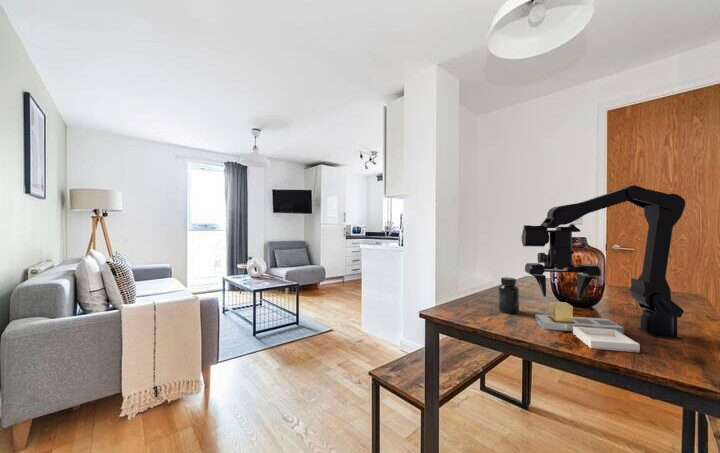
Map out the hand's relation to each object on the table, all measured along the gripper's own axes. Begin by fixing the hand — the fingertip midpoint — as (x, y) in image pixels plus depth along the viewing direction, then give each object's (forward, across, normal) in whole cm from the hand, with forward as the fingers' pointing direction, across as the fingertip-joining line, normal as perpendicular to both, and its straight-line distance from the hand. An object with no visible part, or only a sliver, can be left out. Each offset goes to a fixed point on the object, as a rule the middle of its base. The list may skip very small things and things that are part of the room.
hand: (561, 297), depth 89 cm
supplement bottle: (+9, +12, -13) cm, 20 cm away
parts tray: (+9, -6, +11) cm, 15 cm away
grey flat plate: (+9, -4, 0) cm, 10 cm away
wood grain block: (+9, 0, 0) cm, 9 cm away
